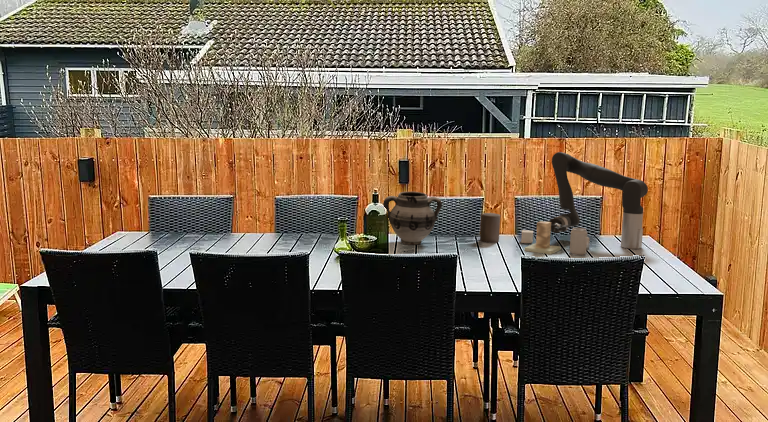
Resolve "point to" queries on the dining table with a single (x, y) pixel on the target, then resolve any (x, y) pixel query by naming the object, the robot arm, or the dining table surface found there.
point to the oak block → (543, 234)
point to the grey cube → (527, 236)
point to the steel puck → (587, 243)
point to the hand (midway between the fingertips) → (546, 228)
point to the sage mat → (542, 249)
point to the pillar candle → (490, 227)
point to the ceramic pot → (412, 216)
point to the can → (578, 241)
